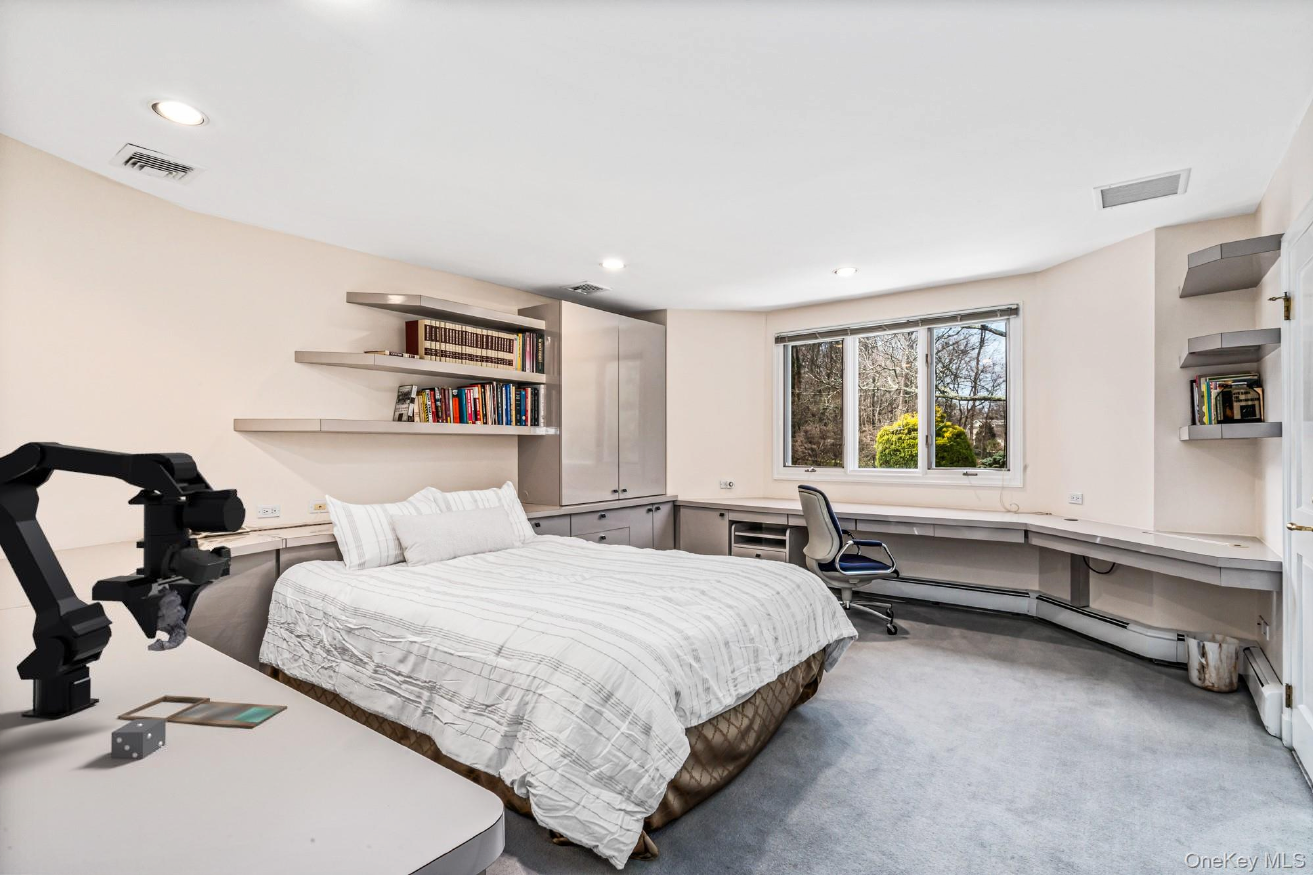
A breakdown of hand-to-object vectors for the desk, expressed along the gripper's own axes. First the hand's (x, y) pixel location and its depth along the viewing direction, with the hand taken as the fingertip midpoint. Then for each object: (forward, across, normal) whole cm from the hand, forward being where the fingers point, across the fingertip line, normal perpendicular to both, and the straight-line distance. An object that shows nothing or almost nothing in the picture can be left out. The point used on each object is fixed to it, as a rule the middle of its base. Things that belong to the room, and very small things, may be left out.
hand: (166, 633), depth 98 cm
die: (+12, -13, -9) cm, 20 cm away
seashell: (+3, 0, 0) cm, 3 cm away
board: (+12, 0, -10) cm, 16 cm away
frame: (+12, 0, 0) cm, 12 cm away
